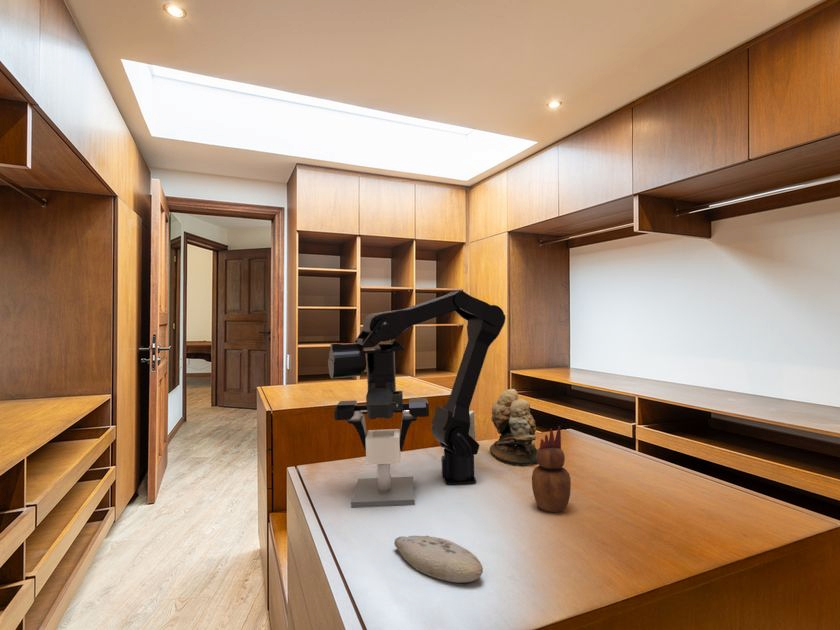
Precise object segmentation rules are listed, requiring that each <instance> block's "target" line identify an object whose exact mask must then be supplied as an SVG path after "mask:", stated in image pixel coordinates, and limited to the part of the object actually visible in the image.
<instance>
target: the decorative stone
mask: <svg viewBox="0 0 840 630" xmlns="http://www.w3.org/2000/svg"><path fill="white" fill-rule="evenodd" d="M393 544H394V546H395V548H396V549H397V550H398V551H399V553H400V554H401V556H402V557H403V559H404V560H405V561H406V562H407V563H408V564H409V565H411V566H412V567H413V568H414V569H416V570H417V571H418V572H420V573H422V574H424V575H427V576H429V577H432V578H434V579H436V580H437V579H438V580H442V581H445V582H450V583H455V584H456V583H459V584H460V583H461V584H463V583H466V584H467V583H470V582H473V581H475V580H476V581H477V580H478V579H479V578H480V577H481V576H482V574H483V572H484V571H483V570H484V567H483V565H482V563H481V561H480V560H479V558H478V557H477V556H476V555H475V554H474V553H473V552H471V551H470V550H468V549H466V548H464V547H463V546H461V545H460V544H457V543H455V542H453V541H451V540H449V539H444V538H442V537H441V538H440V537H435V536H429V535H409V536H399V537H396V538H395V539H394V543H393Z"/></svg>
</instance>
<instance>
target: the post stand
mask: <svg viewBox="0 0 840 630" xmlns="http://www.w3.org/2000/svg"><path fill="white" fill-rule="evenodd" d="M376 466H377V477H368V478H357V481H356V484H355V488H354V491H353V494H352V498H351V501H350V506H351V508H352V509H353V508H371V507H372V508H373V507H395V506H399V507H400V506H416V505H415V504H416V503H415V502H416V499H415V483H414V482H415V480H414V479H415V478H414V476H393V477H391V464H376Z"/></svg>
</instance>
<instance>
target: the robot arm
mask: <svg viewBox="0 0 840 630" xmlns="http://www.w3.org/2000/svg"><path fill="white" fill-rule="evenodd" d="M452 312H455V313H456V314H457V315H458V316H459V317H461V318H462V319H464V320H465V321H467V325H466V331H467V332H466V333H467V343H466V346H465V349H464V352H463V356H462V358H461V362H460V364H459V368H458V370H457V373H456V375H455V376H456V377H455V380H454V383H453V385H452V389H451V392H450V395H449V397H448V400H447V402H446V403H445V404H444V405H443V406H442V407H441V406H438V405H437V406H436V407H435V411H434V415H433V418H432V419H431V421H430V424H431V425H432V426H431V434H432V435H433V438H435V440H436V441H438V442H439V446H440V447H441V448H443V455H442V456H440V457H441V459H440V461H441V477H442V479H443V480H444V483H445V485H463V484H465V485H466V484H476V483H477V480H476V477H475V455H478V454H479V453H478V452H479V449H480V444H479V442H477V441H476V439H475V440H474V439H473V438H472V437H471V436H470V435H469V430H470V414H469V411H470V406H471V403H472V400H473V398H474V394H475V391H476V387H477V384H478V381H479V377H480V375H481V373H482V368H483V366H484V363H485V360H486V358H487V357H486V356H487V353H488V350H489V348H490V346H491V345H492V344H493V343H494V341H495V340H496V339H497V338H498V337H499V335H500V333H501V331H502V329H503V327H504V325H505V323H506V315H505V313H504V310H503V308H501V307H500V306H498V305H495V304H489V303H488V302H486V301H483V300H481V299H479V298H476V297H474V296H472V295H470V294H468V293H467V292H465V291H463V290H457V291H450V292H448V293H447V294H445V295H442V296H439V297H436V298H432V299H429V300H427V301H424V302H420V303H418V304H414V305H412V306H409V307H408V306H407V307H406V308H403V309H396V310H389V311H388V310H387V311H380V312H375V313H374V312H373V313H370V314H368V315H367V316H366V317H365V318H364V320H363V323H362V330H360V331H361V332H360V333H359V334H358V336H357V338H356V339H355V340H354V342H353V343H338V342H337V343H335V342H333V343H330V344H329V345H330V346H329V347H330V349H329V354H328V355H329V356H328V359H327V365H328V366H327V367H328V373H329V378H331V379H340V378H341V379H343V378H353V377H360V376H362V373H364V372H365V371H366V377H367V378H366V381H367V383H366V384H367V392H366V396H365V400H366V401H365V402H366V403H365V404H358V402H357V400H340V401H339V402H338V403H337V405H336V406H335V407H334V411H333V414H334V416H333V417H334V421H346V423H347V424H348V425H352V426H353V427H354V428H355V430H356V432H357V434H358V435H359V436H358V437H359V439H360V441H361V443H362V446H363V448H364V449H363V450H364V451H365V453H366V436H367V433H368V431H367V426H366V425H367V424H366V417H365V415H366V414H367V418H368V419H369V420H376V419H386V420H387V419H392V418H393V417H394V413H395V414H396V413H402V417H401V425H400V452H402V451H403V448H404V445H405V440H406V436H407V433H408V431H409V428H410V427H411V424H412V422H416V421H417V420H418V418H422V417H423V418H424V417H425V418H427V417H429V416H430V409H429V407H430V405H429V401H428V399H427V398H426V397H412V398H408V402H404V401H403V400H404V397H403V395H404V394H403V390H397V387H396V386H397V385H396V360H395V359H396V358H395V356H396V354H395V352H404V351H405V347H404V346H403V345H402V344H400V343H399V341H398V340H397V339H395V337H397V336H399V335H401V334H403V333H404V332H405V331H407V330H408V329H409V328H411V327H413V326H415V325H418V324H421V323H423V322H426V321H429V320H432V319H435V318H438V317H441V316H444V315H446V314H449V313H452ZM388 341H390V342H389V343H381V342H388ZM365 348H369V349H365ZM370 348H371V349H370Z"/></svg>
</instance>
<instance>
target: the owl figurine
mask: <svg viewBox="0 0 840 630" xmlns="http://www.w3.org/2000/svg"><path fill="white" fill-rule="evenodd" d="M530 407H531V405H530V402H528V400H525V399H523V398H519V395H518V391H517V390H516V389H515V388H510V389H506V390H504V391H502V393H501V394H499V397H498V399H497V401H495V402H494V403H493V405H492V406H491V418H490V420H491V422H492V424H493V425H494V427H495V428H496V432H497V433H498V434H500V435H499V437H498V440H496V441H494V443H492V444H491V445H490V447H489V452H490V455H491V456H492V458H493V459H495V460H496V461H498V462H500V463H503V464H505V465H509V466H517V465H518V466H519V467H520V466H521V467H522V466H527V465H539V464H538V463H537V459H536V454H537V450H538V449H537V448H536V445H535V442H533V441H536V439H537V437H536V431H537V427H536V425H537V424H536V420H535V419H534V417H533V415H532V414H531V409H530Z"/></svg>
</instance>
